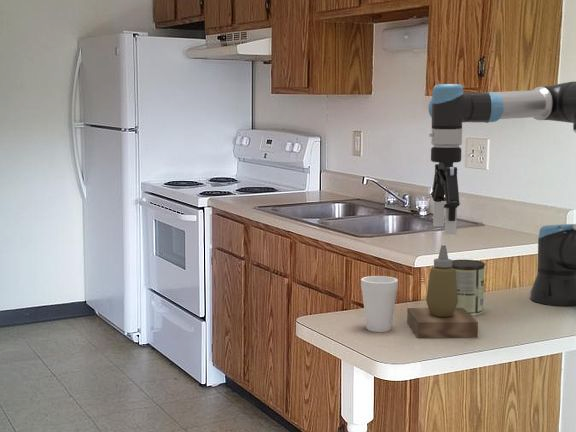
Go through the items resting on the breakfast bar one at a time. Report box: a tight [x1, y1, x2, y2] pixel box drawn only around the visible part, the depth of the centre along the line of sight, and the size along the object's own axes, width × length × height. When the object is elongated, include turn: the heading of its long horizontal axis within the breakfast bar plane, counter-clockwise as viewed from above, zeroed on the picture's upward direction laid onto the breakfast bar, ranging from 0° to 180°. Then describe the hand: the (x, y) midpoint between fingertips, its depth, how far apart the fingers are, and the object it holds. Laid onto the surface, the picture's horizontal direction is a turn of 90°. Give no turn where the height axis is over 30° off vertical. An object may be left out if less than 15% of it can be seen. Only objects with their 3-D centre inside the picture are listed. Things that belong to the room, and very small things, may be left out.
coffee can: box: [451, 259, 486, 317], centre depth 225 cm, size 10×10×14 cm
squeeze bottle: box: [425, 245, 458, 317], centre depth 204 cm, size 8×8×18 cm
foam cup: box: [360, 275, 399, 333], centre depth 206 cm, size 10×9×13 cm
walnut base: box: [406, 307, 479, 339], centre depth 206 cm, size 15×15×4 cm
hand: (444, 230), depth 203 cm, fingers open, 13 cm apart
